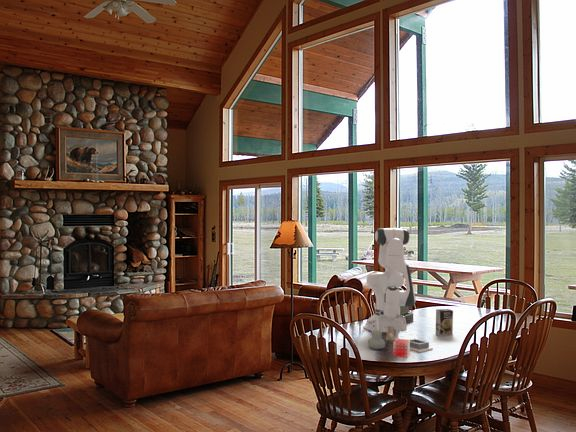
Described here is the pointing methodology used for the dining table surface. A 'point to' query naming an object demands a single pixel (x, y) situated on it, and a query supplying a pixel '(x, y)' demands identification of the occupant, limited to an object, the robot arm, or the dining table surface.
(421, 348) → the socket board
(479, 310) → the dining table surface
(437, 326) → the coffee box
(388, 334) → the banded block
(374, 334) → the air freshener
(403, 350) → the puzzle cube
